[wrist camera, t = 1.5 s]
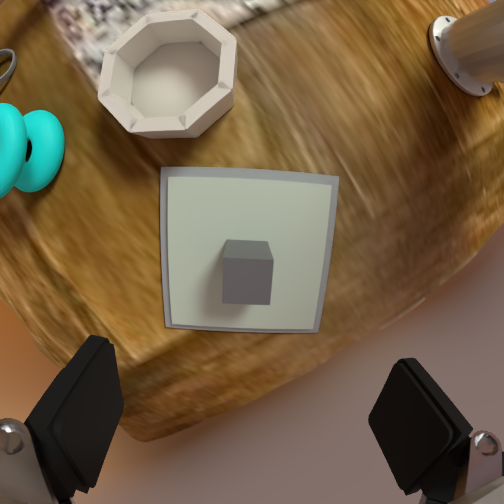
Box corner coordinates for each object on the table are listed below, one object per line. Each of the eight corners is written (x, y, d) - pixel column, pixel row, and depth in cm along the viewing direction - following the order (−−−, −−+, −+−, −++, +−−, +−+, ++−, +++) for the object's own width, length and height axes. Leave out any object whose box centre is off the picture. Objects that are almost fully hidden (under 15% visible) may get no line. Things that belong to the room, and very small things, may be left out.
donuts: (-45, 148, 15) (0, 81, 14) (7, 146, 25) (53, 95, 24) (-22, 222, 18) (25, 158, 17) (31, 206, 28) (81, 157, 27)
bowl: (239, 35, 24) (239, 8, 18) (232, 138, 27) (229, 130, 21) (132, 42, 23) (112, 20, 17) (120, 140, 26) (93, 135, 21)
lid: (329, 185, 28) (353, 190, 21) (311, 325, 32) (325, 360, 26) (170, 176, 27) (149, 179, 21) (173, 320, 32) (159, 354, 25)
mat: (337, 176, 28) (339, 176, 28) (317, 329, 33) (318, 332, 33) (162, 166, 27) (160, 166, 27) (166, 324, 32) (165, 326, 32)
